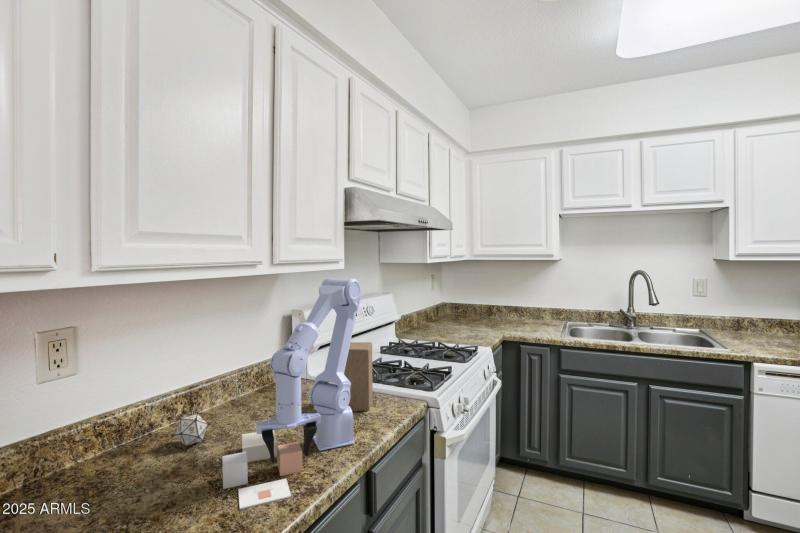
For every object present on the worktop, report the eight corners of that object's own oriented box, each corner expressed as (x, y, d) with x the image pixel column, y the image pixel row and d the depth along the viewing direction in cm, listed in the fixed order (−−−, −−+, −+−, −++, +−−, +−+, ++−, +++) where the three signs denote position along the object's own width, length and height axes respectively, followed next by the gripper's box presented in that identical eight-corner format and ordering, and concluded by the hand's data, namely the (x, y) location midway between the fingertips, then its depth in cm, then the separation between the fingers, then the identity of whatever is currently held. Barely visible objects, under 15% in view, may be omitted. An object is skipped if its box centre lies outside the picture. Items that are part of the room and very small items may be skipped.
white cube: (246, 472, 95) (246, 451, 94) (247, 484, 90) (247, 461, 90) (223, 477, 93) (222, 456, 92) (223, 489, 88) (222, 466, 88)
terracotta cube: (298, 461, 99) (298, 441, 99) (302, 471, 95) (302, 450, 95) (277, 466, 97) (277, 445, 97) (280, 476, 93) (280, 455, 93)
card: (286, 479, 91) (286, 477, 91) (291, 497, 85) (291, 495, 85) (238, 490, 87) (238, 488, 87) (239, 509, 81) (239, 507, 81)
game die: (194, 454, 110) (207, 416, 116) (207, 452, 105) (221, 412, 111) (160, 447, 105) (176, 408, 111) (173, 445, 100) (188, 403, 106)
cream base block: (274, 443, 109) (274, 429, 109) (277, 458, 102) (276, 442, 101) (242, 449, 106) (241, 434, 106) (242, 464, 99) (242, 448, 98)
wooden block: (343, 399, 140) (343, 341, 139) (372, 399, 140) (372, 342, 139) (338, 411, 130) (337, 349, 129) (369, 411, 130) (368, 349, 129)
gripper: (257, 411, 89) (258, 472, 89) (323, 401, 95) (323, 459, 95) (255, 401, 95) (256, 457, 96) (316, 392, 101) (317, 446, 102)
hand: (289, 457), depth 96 cm, fingers open, 7 cm apart
